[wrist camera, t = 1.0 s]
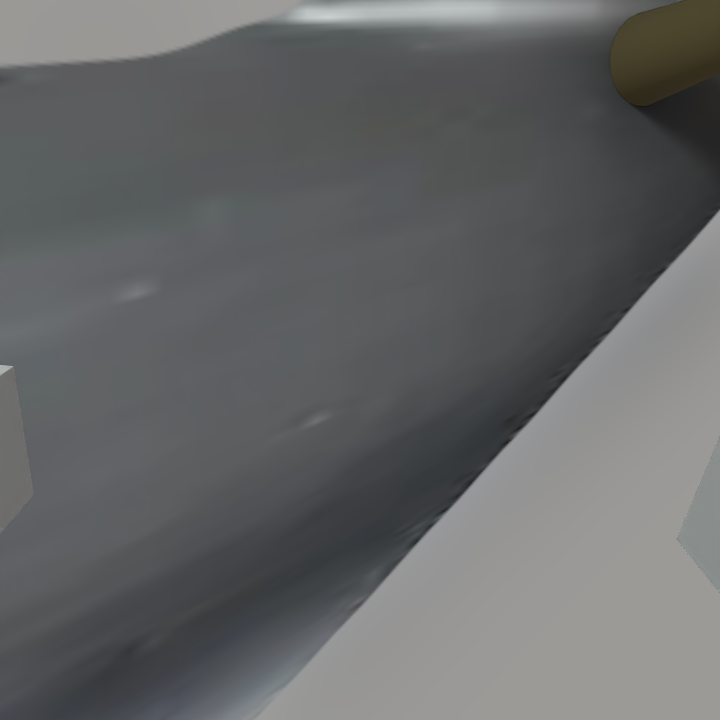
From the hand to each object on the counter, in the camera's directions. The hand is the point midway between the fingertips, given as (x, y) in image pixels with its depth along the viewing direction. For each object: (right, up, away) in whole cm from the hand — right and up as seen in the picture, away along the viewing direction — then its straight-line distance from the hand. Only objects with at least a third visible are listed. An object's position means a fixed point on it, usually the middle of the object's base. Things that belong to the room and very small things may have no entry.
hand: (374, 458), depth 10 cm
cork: (+20, +23, +28) cm, 42 cm away
